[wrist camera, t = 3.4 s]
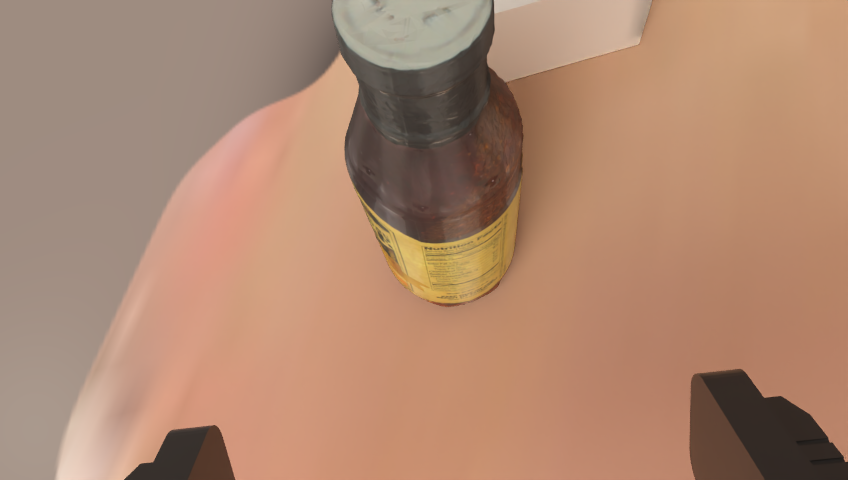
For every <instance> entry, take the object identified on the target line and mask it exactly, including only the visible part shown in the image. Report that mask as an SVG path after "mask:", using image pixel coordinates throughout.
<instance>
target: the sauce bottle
mask: <svg viewBox="0 0 848 480" xmlns="http://www.w3.org/2000/svg"><path fill="white" fill-rule="evenodd" d="M332 18H333V22H334V27H335V31H336V35H337V39H338V43H339V48H340V51H341V55H342V57H343V58H344V60H345V61H346V63H347V64H348V66H349V67H350V69H351V70H352V72H353V73H354V74H355V75H356V78H357V80H358V83H359V94H358V98H357V101H356V104H355V107H354V111H353V114H352V118H351V121H350V123H349V127H348V130H347V133H346V137H345V160H346V166H347V169H348V173H349V175H350V178H351V180H352V183H353V186H354V189H355V190H356V192H357V194H358V196H359V198H360V200H361V203H362V205H363V207H364V210H365V213H366V215H367V217H368V219H369V222H370V223H371V226H372V228H373V230H374V232H375V235H376V238H377V240H378V241H379V244H380V246H381V248H382V251H383V253H384V255H385V258H386V260H387V262H388V265H389V267H390V269H391V270H392V272H393V274H394V275H395V277H396V278H397V279H398V280H399V282H400V283H401V284H402V285H403V286H404V287H405V288H406V289H408V290H409V291H410V292H412V293H413V294H415V295H417V296H419V297H420V298H421V299H424V300H427V301H428V302H431V303H434V304H437V305H440V306H445V307H451V306H456V305H461V304H465V303H469V302H472V301H475V300H477V299H479V298H481V297H482V296H484V295H486V294H489V293H490V292H492V291H493V290H494V289H495V288H496V287H497V286H498V285H499V282H500V280H501V278H502V277H503V275H504V274H505V272H506V271H507V269H508V267H509V265H510V262H511V260H512V257H513V253H514V248H515V238H516V230H517V221H518V211H519V201H520V191H521V182H522V172H523V170H522V156H523V154H522V142H523V133H522V132H523V125H522V119H521V116H520V114H519V109H518V107H517V104H516V101H515V100H514V97H513V94H512V93H511V91H510V90H509V88H508V86H507V85H506V83H505V82H504V80H503V79H501V78H500V77H498V75H497V74H496V72H495V71H494V70H492V69H491V68H490V67H488V64H487V54H488V52H489V50H490V47H491V45H492V41H493V36H494V32H495V26H494V0H332Z"/></svg>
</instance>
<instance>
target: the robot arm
mask: <svg viewBox="0 0 848 480" xmlns="http://www.w3.org/2000/svg"><path fill="white" fill-rule="evenodd" d="M690 458H691V464H692V469H693V473H694V477H695V480H848V462H845V461H844V457H843V456H842V454H841V453H840V452H839V451H838V449H837V448H836V447H835V446H834V444H833V443H830V442H829V440H828V437H827V436H826V434H825V433H824V432H823V430H822V429H821V428H820V427H819V425H818V424H817V423H816V422H815V420H814V419H813V418H812V417H811V415H810V414H808V413H806V412H805V411H803V410H802V409H800V408H799V407H797V406H796V405H794V404H792V403H791V402H789V401H788V400H786V399H785V398H783V397H781V396H778V397H769V398H764V397H763V396H762V395H761V393H760V392H759V390H758V389H757V388H756V386H755V385H754V384H753V382H752V381H751V379H750V378H749V377H748V375H747V374H746V373H745V372H744V371H743V370H741V369H735V370H726V371H717V372H708V373H699V374H694V375H693V377H692V381H691V405H690ZM124 480H235V477H234V474H233V471H232V467H231V464H230V460H229V457H228V454H227V450H226V447H225V443H224V440H223V437H222V434H221V432H220V430H219V428H218V427H217V426H215V425H213V426H204V427H195V428H186V429H177V430H171V431H170V432H169V433H168V434H167V436H166V438H165V440H164V442H163V444H162V446H161V448H160V450H159V452H158V454H157V456H156V458H155V460H154V462H152V463H143V464H140V465H139V466H138V467H137V468H136V469H135V470H134V471H133V472H132V473H131V474H130V475H129V476H127V477H126V478H125V479H124Z"/></svg>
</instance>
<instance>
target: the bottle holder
mask: <svg viewBox="0 0 848 480" xmlns="http://www.w3.org/2000/svg"><path fill="white" fill-rule="evenodd" d="M651 4H652V0H494V26H495V32H494V36H493V41H492V45H491V47H490V50H489V52H488V54H487V64H488V67H490V68H491V69H492V70H494V71H495V72H496V74H497V75H498V77H500V78H501V79H503V80H504V82H508V81H512V80H515V79H519V78H522V77H526V76H529V75H533V74H537V73H540V72H544V71H547V70H551V69H554V68H558V67H561V66H565V65H568V64H572V63H575V62H579V61H582V60H586V59H589V58H593V57H596V56H600V55H603V54H607V53H610V52H614V51H617V50H621V49H625V48H628V47H632V46H635V45H639V43H640V39H641V36H642V33H643V30H644V26H645V23H646V20H647V17H648V13H649V10H650V7H651Z"/></svg>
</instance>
